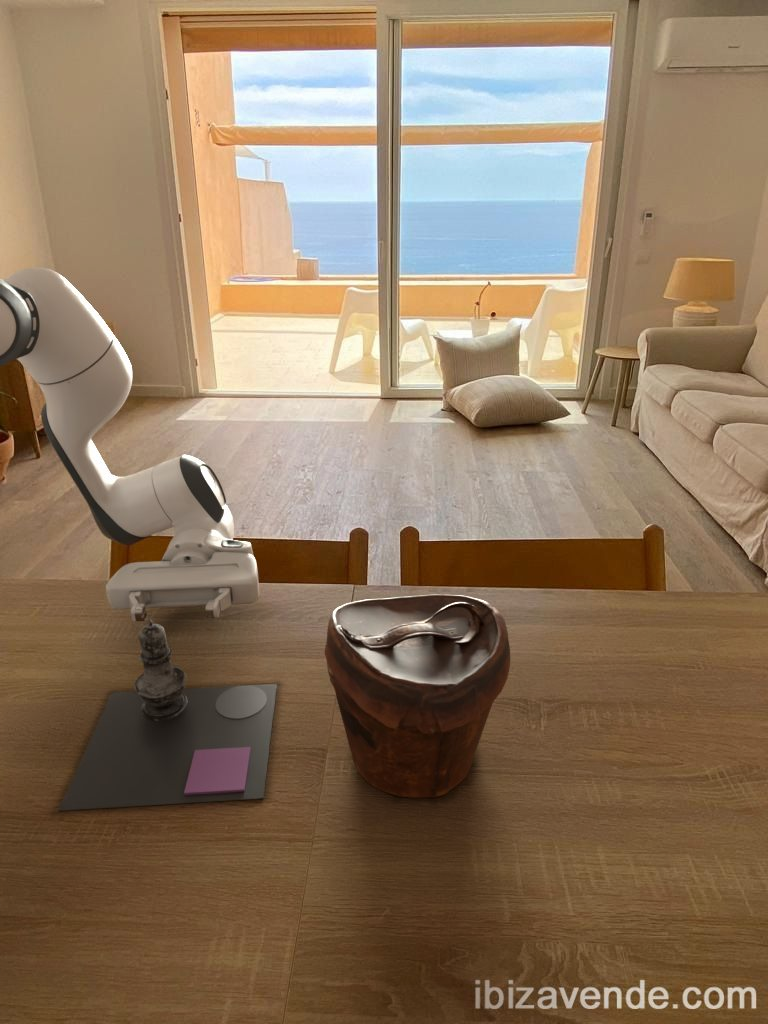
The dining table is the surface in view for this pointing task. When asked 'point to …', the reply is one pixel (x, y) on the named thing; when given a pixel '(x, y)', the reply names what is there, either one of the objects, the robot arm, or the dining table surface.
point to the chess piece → (159, 677)
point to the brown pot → (416, 686)
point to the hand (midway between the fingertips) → (174, 615)
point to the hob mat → (171, 748)
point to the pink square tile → (218, 771)
